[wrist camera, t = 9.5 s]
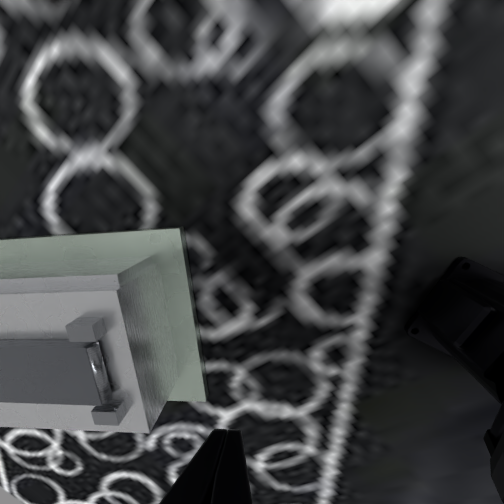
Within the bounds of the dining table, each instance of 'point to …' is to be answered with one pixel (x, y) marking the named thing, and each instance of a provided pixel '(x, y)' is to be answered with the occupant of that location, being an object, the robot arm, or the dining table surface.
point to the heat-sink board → (107, 321)
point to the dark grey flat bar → (53, 372)
